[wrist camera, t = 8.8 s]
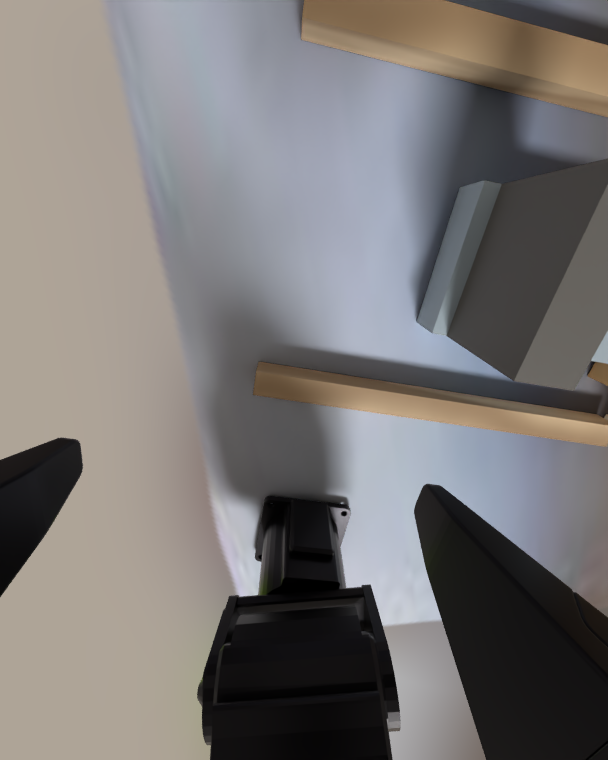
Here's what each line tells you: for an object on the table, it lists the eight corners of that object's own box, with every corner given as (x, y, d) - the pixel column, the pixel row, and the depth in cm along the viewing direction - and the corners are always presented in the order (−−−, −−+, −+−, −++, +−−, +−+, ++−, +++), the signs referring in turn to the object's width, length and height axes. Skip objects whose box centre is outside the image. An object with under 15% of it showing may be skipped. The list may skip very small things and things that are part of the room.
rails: (585, 433, 23) (605, 446, 21) (255, 383, 21) (253, 394, 19) (779, 118, 16) (828, 106, 14) (307, -8, 14) (309, -37, 12)
